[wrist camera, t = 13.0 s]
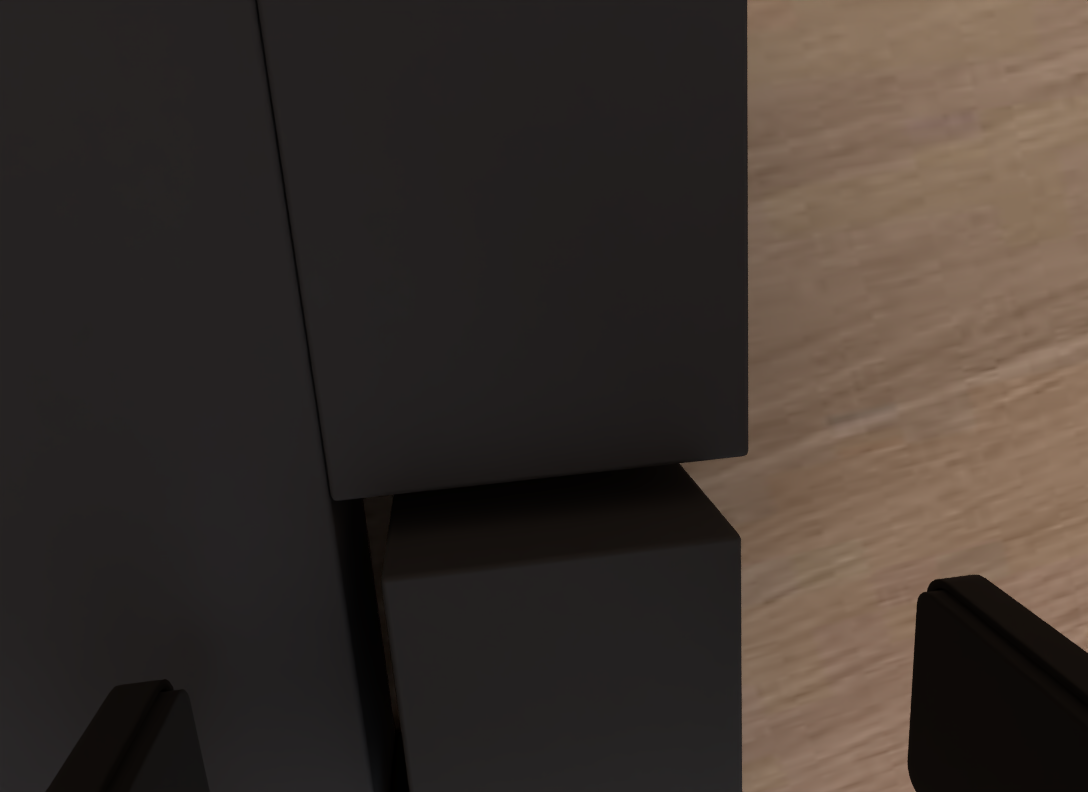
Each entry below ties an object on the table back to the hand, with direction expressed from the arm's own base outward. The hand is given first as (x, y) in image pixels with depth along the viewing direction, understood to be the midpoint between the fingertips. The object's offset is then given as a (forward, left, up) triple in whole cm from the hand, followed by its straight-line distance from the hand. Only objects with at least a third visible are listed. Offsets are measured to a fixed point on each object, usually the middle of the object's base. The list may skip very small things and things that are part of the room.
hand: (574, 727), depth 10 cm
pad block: (0, 0, -4) cm, 4 cm away
